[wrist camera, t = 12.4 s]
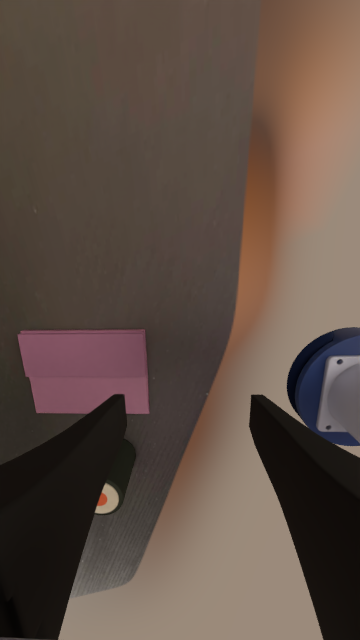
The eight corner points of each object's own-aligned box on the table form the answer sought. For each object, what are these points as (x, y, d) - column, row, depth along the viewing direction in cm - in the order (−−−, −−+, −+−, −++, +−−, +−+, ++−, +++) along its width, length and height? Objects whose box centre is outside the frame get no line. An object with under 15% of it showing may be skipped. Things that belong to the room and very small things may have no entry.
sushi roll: (134, 437, 21) (120, 480, 17) (137, 469, 22) (124, 518, 18) (95, 436, 22) (70, 479, 17) (99, 468, 23) (77, 517, 18)
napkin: (145, 329, 19) (143, 331, 18) (149, 410, 21) (148, 416, 20) (24, 329, 19) (16, 332, 18) (39, 410, 21) (33, 415, 20)
